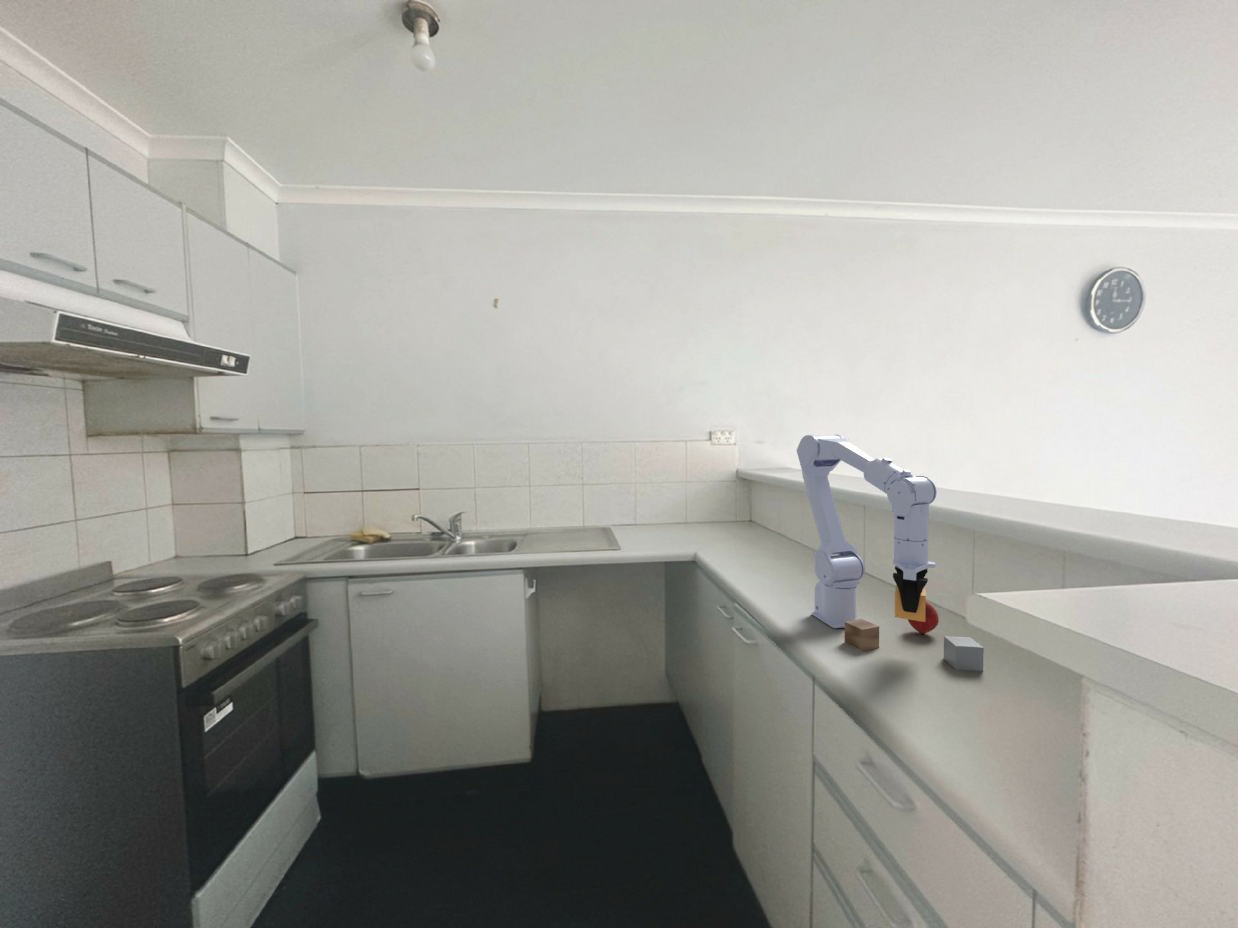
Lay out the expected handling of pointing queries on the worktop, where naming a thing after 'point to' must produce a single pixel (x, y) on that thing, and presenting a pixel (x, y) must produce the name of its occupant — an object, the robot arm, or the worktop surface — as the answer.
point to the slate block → (963, 653)
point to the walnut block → (862, 634)
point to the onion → (926, 620)
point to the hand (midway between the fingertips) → (910, 607)
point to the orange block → (909, 615)
